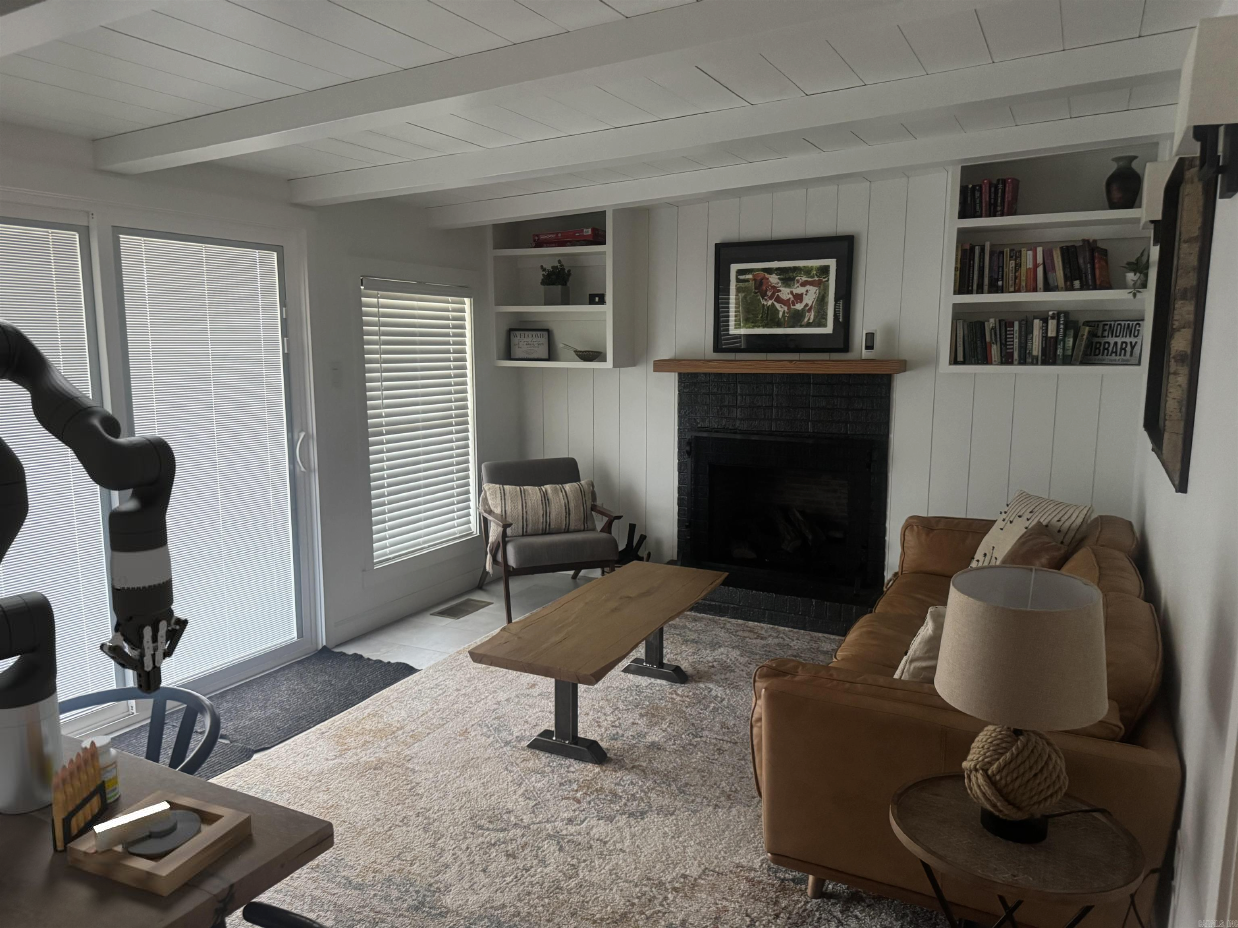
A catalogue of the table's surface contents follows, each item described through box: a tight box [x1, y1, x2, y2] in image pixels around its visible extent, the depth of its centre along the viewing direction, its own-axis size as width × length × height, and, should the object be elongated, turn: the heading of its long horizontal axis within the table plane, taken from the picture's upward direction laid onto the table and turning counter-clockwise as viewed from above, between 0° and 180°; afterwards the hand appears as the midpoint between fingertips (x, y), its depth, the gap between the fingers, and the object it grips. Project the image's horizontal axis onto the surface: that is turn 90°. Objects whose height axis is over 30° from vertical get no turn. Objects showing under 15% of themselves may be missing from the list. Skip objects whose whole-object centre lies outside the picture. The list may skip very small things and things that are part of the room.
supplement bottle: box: [80, 735, 121, 804], centre depth 129 cm, size 5×5×10 cm
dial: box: [93, 802, 201, 860], centre depth 116 cm, size 13×10×5 cm
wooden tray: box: [66, 789, 253, 898], centre depth 117 cm, size 18×15×3 cm
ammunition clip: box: [50, 740, 109, 853], centre depth 121 cm, size 11×2×12 cm, turn 3°
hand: (150, 691), depth 118 cm, fingers closed
